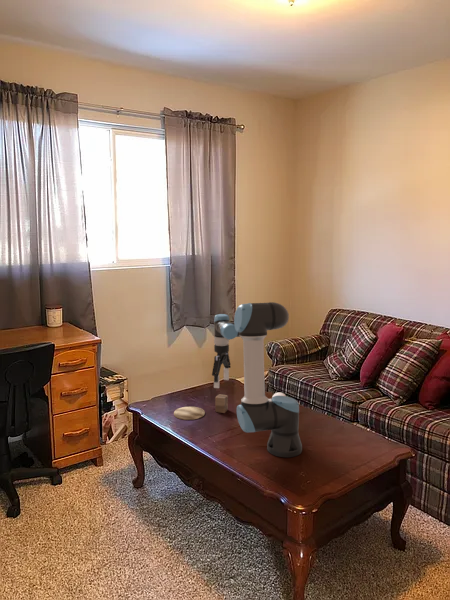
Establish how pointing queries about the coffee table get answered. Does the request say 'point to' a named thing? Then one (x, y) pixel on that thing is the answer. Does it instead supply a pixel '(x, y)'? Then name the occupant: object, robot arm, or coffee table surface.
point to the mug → (277, 395)
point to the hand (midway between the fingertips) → (221, 383)
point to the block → (221, 403)
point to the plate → (189, 413)
